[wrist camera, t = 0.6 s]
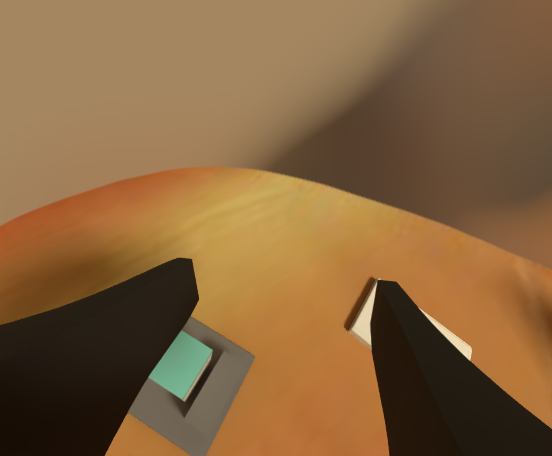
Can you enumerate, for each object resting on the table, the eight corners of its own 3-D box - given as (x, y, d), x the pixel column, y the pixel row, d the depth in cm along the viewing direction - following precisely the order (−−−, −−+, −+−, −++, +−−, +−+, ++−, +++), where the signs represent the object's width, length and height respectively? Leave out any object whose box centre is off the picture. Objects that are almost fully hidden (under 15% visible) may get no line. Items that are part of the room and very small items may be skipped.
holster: (202, 461, 19) (202, 469, 16) (84, 381, 20) (66, 376, 17) (254, 357, 24) (261, 350, 21) (157, 297, 25) (152, 283, 22)
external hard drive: (372, 282, 33) (462, 349, 30) (345, 333, 28) (449, 418, 25) (379, 276, 32) (473, 346, 29) (352, 329, 27) (462, 418, 24)
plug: (186, 402, 20) (182, 399, 16) (140, 372, 21) (122, 360, 16) (210, 363, 22) (212, 349, 18) (167, 336, 23) (158, 316, 18)
